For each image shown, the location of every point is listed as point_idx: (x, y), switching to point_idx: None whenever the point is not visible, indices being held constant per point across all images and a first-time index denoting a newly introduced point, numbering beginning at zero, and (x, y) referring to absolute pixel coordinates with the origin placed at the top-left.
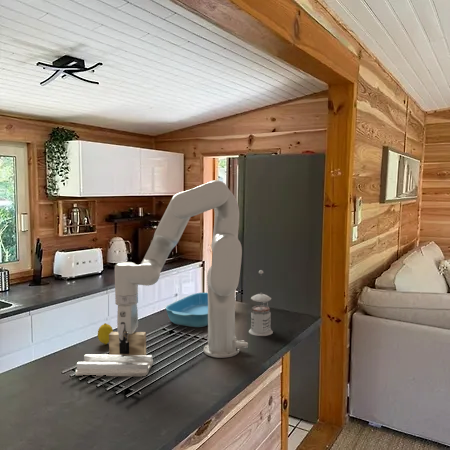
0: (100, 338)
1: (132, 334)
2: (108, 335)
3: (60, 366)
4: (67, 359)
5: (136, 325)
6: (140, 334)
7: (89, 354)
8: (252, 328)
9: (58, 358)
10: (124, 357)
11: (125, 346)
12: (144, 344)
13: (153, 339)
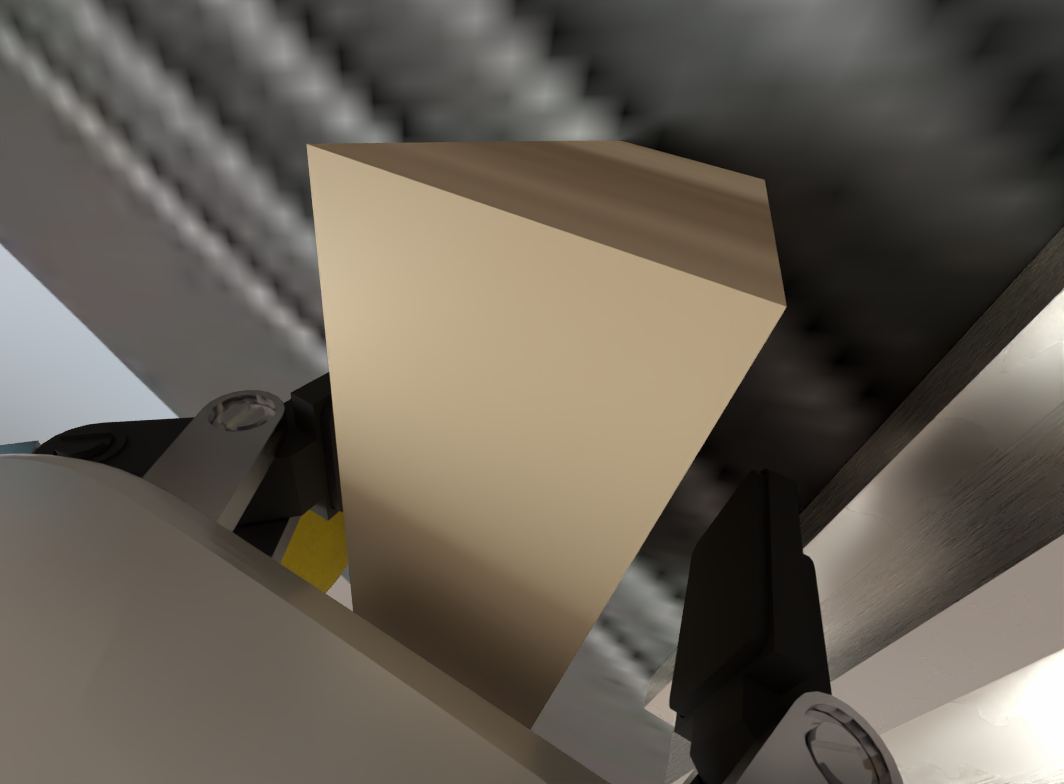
0: (338, 576)
1: (535, 636)
2: (305, 554)
3: (664, 776)
4: (562, 711)
5: (74, 710)
6: (601, 447)
7: (683, 781)
8: None
9: (537, 724)
10: (1061, 626)
11: (818, 650)
12: (709, 192)
13: (163, 37)
